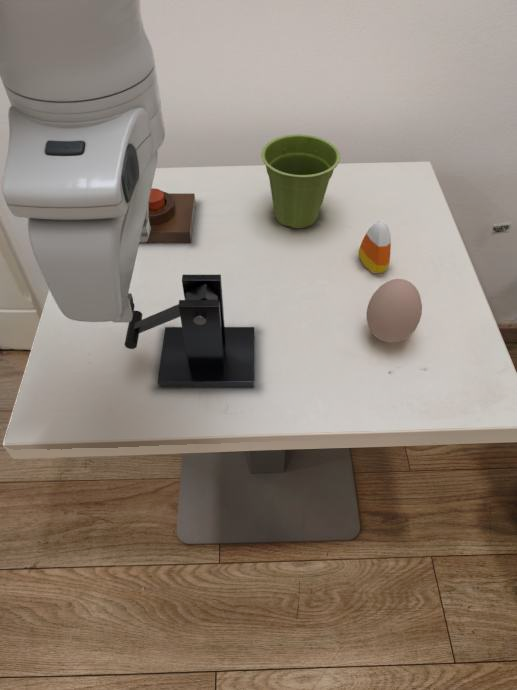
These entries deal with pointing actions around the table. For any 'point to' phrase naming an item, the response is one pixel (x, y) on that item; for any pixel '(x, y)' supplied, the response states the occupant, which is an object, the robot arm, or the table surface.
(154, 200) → the button
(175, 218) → the button block
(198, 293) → the lever
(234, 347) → the bracket
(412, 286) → the egg
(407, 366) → the table surface
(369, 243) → the candy corn
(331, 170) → the plant pot
